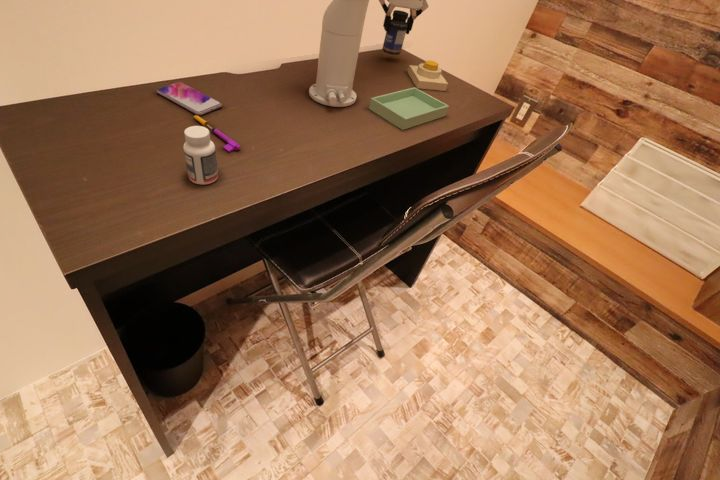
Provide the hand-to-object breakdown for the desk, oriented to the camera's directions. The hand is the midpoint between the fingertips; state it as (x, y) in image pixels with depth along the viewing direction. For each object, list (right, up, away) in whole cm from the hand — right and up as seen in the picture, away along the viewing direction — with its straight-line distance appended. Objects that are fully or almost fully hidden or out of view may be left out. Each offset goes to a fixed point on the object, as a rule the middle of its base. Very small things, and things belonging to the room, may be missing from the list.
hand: (396, 31), depth 114 cm
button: (+9, -15, -5) cm, 18 cm away
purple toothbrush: (-47, -47, -38) cm, 76 cm away
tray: (-1, -34, -19) cm, 39 cm away
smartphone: (-55, -35, -29) cm, 72 cm away
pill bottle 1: (-45, -58, -48) cm, 88 cm away
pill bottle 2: (-1, -4, +5) cm, 6 cm away
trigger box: (+8, -17, -3) cm, 19 cm away
